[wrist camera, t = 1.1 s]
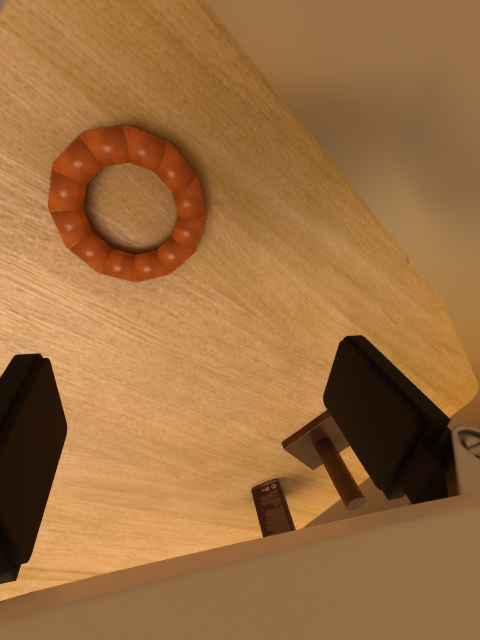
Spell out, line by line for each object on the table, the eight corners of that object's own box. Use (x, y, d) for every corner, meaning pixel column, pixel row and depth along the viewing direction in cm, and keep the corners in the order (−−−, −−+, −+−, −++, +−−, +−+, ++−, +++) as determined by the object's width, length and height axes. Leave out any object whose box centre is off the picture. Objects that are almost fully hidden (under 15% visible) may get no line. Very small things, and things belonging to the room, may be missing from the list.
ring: (126, 88, 19) (123, 83, 17) (228, 216, 24) (234, 222, 22) (20, 201, 20) (8, 207, 19) (137, 297, 26) (136, 309, 24)
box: (248, 489, 44) (276, 594, 34) (277, 477, 44) (313, 578, 34) (258, 508, 47) (286, 608, 37) (285, 497, 48) (320, 594, 38)
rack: (330, 407, 39) (372, 472, 32) (355, 433, 43) (398, 495, 36) (281, 443, 40) (310, 513, 33) (310, 464, 45) (342, 530, 37)
